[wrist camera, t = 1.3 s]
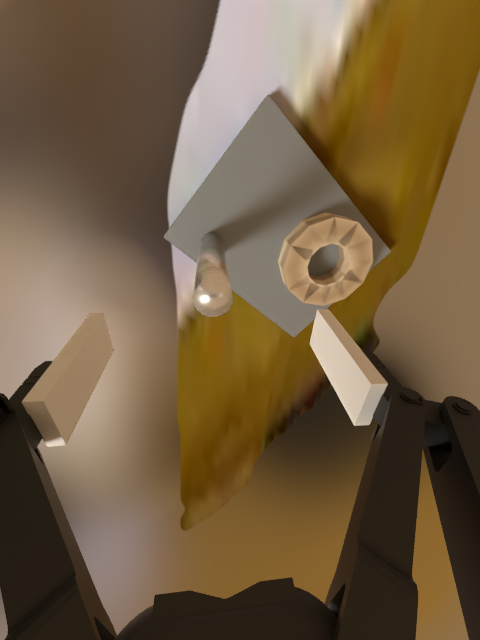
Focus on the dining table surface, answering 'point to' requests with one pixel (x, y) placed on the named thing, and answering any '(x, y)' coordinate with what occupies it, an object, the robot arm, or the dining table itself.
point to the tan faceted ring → (348, 267)
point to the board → (267, 214)
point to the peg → (212, 278)
